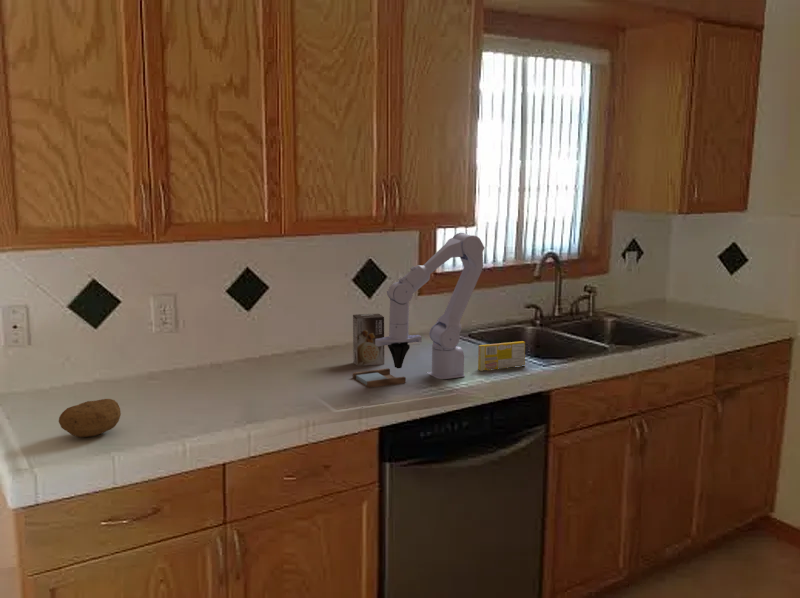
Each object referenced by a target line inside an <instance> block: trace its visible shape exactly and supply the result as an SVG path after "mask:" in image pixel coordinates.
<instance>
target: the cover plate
mask: <svg viewBox="0 0 800 598" xmlns="http://www.w3.org/2000/svg"><path fill="white" fill-rule="evenodd" d="M356 379H357V380H359V381H360V382H362V383H364V384H365V385H367V381H374V380H382V379H388V378H386V377H385V376H383V375H381V374H379V373H370V374H361V375H356ZM357 380H356V381H357ZM360 382H359V383H360ZM365 385H364V386H365Z"/></svg>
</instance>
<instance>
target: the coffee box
mask: <svg viewBox="0 0 800 598" xmlns="http://www.w3.org/2000/svg"><path fill="white" fill-rule="evenodd" d="M384 337H385V316H384V315H382V314H380V313H368V314H367V313H363V314H353V315H352V338H353V339H352V340H353V341H352V344H353V345H352V346H353V347H352V352H353V353H352V355H353V356H352V357H353V358H352V360H353V362H352V363H353V364H354V365H355V366H358V367H359V366H377V365H385V345H383V346H379V347H378V346H376V345H375V339H379V338H384Z"/></svg>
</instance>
